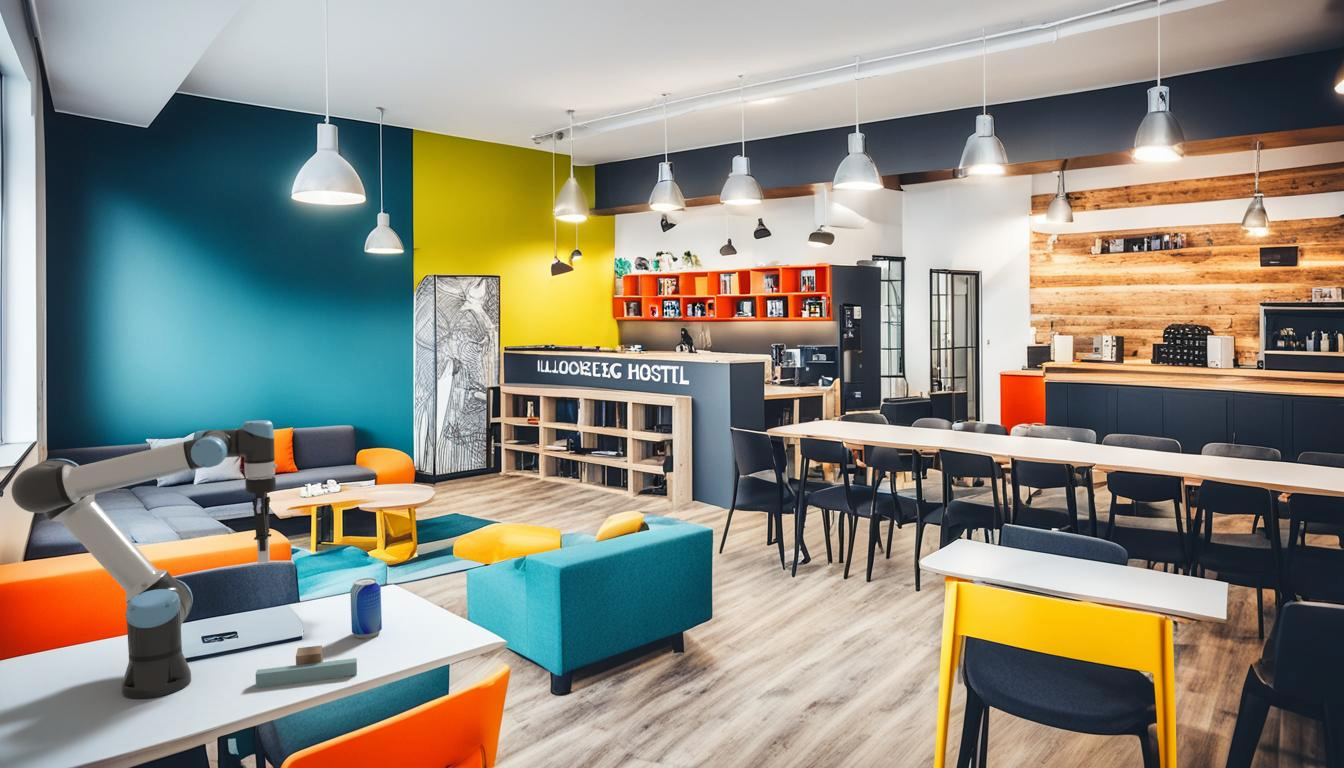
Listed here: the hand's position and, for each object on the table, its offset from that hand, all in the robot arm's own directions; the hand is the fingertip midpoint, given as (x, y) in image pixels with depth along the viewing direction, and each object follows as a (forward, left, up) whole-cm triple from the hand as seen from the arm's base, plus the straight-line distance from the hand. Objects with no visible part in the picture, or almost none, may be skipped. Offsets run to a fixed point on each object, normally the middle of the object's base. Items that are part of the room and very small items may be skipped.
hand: (263, 561), depth 241 cm
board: (+12, -22, -26) cm, 36 cm away
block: (+12, -17, -27) cm, 34 cm away
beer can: (+26, +8, -27) cm, 38 cm away
